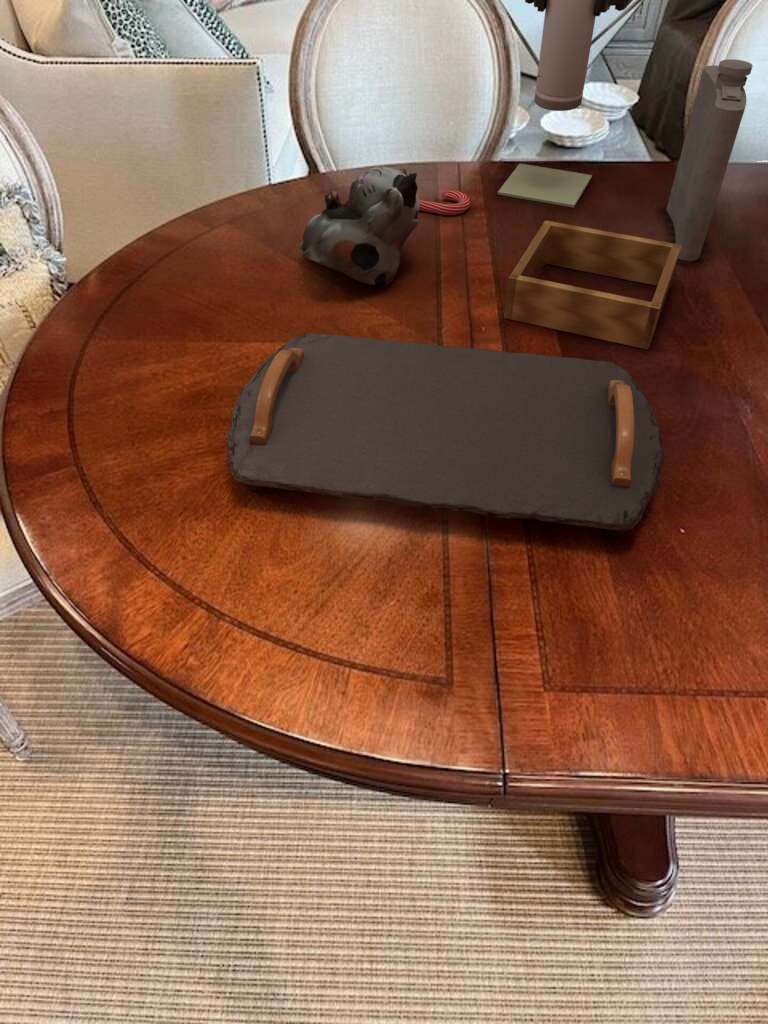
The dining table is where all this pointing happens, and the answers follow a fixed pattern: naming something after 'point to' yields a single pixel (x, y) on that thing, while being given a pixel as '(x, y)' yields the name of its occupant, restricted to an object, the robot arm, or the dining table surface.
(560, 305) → the wooden box
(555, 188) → the placemat
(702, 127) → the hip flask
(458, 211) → the candy cane
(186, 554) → the dining table surface
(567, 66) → the travel mug
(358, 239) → the lucky cat figurine
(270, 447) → the serving tray
